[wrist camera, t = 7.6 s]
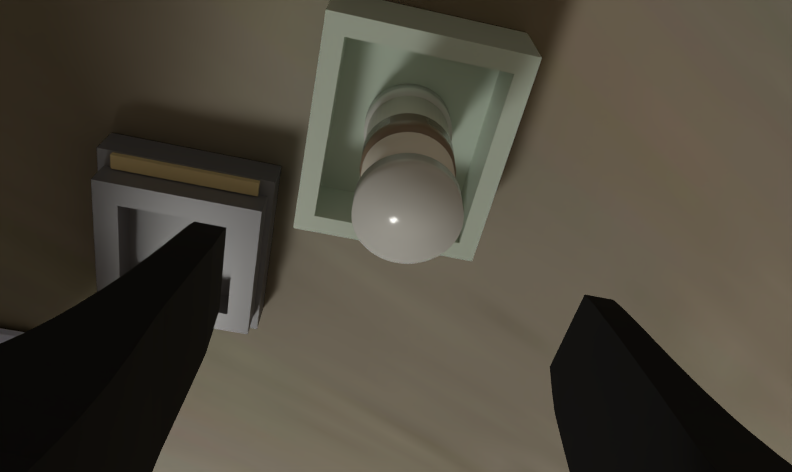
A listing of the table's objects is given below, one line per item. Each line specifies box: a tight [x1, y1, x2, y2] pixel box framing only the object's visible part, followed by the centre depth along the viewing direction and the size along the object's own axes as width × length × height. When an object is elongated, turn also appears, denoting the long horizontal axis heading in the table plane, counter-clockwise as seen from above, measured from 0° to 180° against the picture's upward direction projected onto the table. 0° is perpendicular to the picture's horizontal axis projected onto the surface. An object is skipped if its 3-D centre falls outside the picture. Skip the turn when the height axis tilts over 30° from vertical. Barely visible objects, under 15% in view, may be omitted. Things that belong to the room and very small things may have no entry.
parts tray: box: [293, 0, 542, 261], centre depth 20 cm, size 7×6×2 cm
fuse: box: [351, 83, 464, 264], centre depth 18 cm, size 3×3×6 cm
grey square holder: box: [91, 133, 281, 334], centre depth 23 cm, size 7×6×2 cm
